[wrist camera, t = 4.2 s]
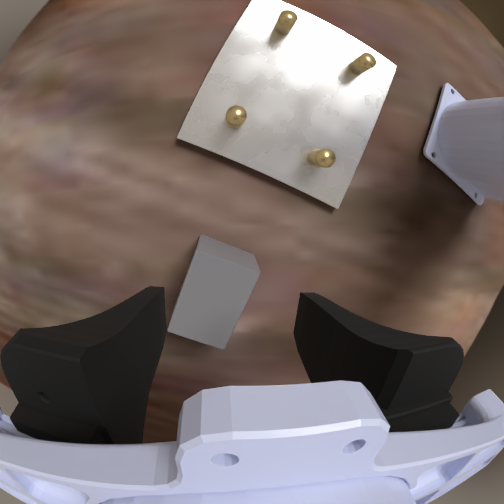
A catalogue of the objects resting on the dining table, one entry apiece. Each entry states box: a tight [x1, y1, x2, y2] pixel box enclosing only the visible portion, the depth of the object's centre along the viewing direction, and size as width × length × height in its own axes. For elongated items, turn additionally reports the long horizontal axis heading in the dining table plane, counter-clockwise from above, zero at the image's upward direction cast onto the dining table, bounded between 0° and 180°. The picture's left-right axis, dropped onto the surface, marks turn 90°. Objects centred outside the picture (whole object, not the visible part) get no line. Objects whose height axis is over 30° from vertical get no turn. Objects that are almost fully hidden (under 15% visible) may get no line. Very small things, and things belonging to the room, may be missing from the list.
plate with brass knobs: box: [177, 0, 397, 209], centre depth 16 cm, size 12×13×3 cm
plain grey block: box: [167, 234, 260, 350], centre depth 20 cm, size 9×11×5 cm
